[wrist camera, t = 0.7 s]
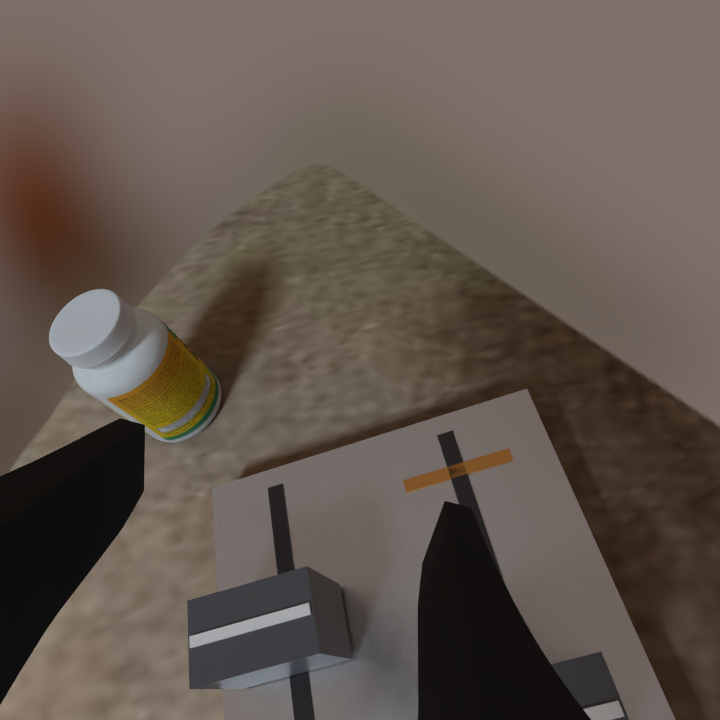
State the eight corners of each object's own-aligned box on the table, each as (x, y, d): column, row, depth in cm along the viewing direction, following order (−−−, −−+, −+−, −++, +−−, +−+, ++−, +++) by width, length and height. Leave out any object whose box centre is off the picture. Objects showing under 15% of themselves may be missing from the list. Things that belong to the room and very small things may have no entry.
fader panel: (727, 860, 18) (747, 877, 17) (262, 957, 20) (237, 981, 18) (527, 406, 28) (526, 387, 27) (229, 498, 30) (211, 487, 28)
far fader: (352, 659, 22) (318, 653, 19) (241, 689, 23) (188, 689, 19) (339, 583, 24) (306, 565, 20) (236, 613, 25) (186, 600, 21)
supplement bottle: (133, 435, 34) (14, 359, 26) (171, 363, 37) (72, 273, 29) (202, 453, 32) (94, 376, 24) (238, 375, 35) (150, 281, 27)
